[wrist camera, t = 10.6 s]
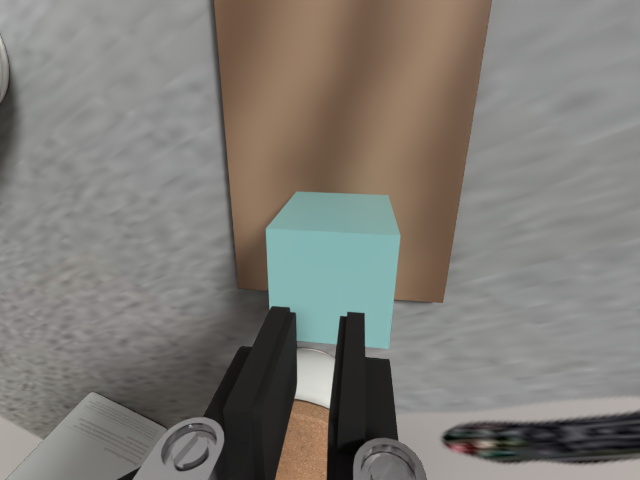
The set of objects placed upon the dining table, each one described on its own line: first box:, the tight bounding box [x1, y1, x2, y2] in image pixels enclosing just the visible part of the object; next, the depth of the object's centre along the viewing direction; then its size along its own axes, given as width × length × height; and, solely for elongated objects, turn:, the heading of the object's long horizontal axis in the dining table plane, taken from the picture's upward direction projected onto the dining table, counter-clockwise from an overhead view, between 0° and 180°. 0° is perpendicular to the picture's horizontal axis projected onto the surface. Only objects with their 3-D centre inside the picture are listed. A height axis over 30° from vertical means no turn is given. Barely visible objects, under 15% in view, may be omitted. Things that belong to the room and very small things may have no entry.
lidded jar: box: [275, 348, 335, 480], centre depth 21 cm, size 11×11×9 cm
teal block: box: [266, 192, 400, 349], centre depth 17 cm, size 5×5×7 cm
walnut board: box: [214, 0, 492, 303], centre depth 18 cm, size 13×19×1 cm
